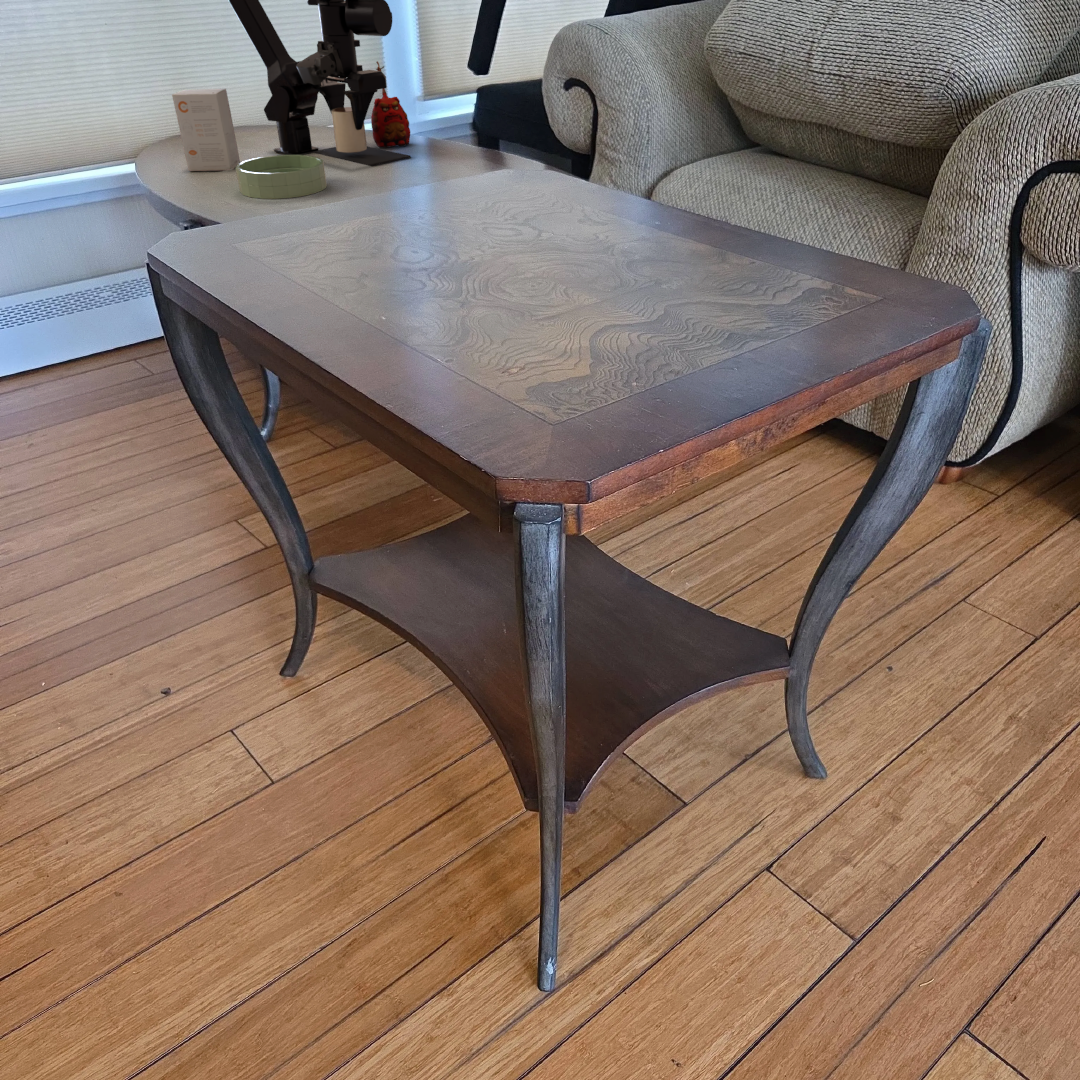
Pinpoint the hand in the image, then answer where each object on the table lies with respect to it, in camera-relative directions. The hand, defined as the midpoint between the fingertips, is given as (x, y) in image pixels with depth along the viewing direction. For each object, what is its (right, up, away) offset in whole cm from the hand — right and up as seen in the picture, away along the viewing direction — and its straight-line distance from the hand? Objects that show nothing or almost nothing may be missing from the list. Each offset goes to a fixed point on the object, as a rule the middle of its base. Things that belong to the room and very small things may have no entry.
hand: (348, 127), depth 177 cm
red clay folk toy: (+6, +1, +12) cm, 14 cm away
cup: (0, -3, +2) cm, 4 cm away
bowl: (-7, -19, -19) cm, 28 cm away
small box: (-24, -9, -3) cm, 26 cm away
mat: (0, -4, +3) cm, 5 cm away
